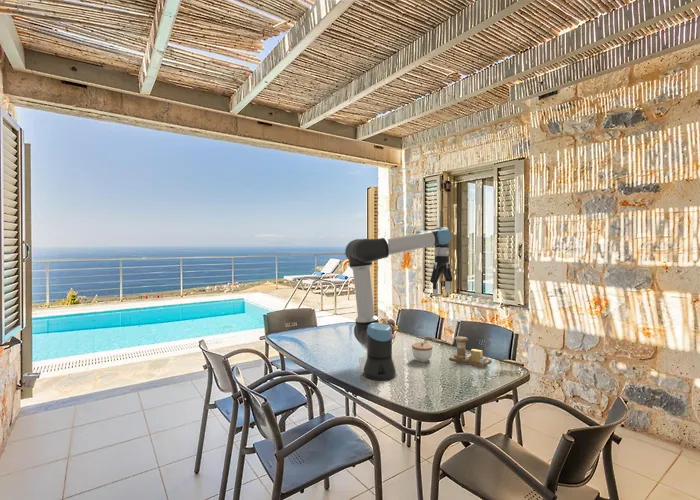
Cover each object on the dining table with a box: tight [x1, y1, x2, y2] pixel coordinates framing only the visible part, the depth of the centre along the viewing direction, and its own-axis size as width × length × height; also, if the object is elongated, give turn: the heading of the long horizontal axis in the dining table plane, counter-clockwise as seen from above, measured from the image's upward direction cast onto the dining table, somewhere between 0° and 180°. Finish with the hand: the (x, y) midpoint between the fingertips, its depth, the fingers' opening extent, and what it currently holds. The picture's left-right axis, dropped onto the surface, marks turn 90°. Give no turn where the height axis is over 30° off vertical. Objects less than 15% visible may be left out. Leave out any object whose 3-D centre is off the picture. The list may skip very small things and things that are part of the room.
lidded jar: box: [411, 342, 433, 363], centre depth 189 cm, size 11×11×9 cm
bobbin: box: [453, 335, 470, 359], centre depth 192 cm, size 8×8×10 cm
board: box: [449, 353, 492, 368], centre depth 189 cm, size 12×18×4 cm, turn 47°
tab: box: [470, 348, 484, 363], centre depth 183 cm, size 3×5×6 cm, turn 47°
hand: (441, 294), depth 195 cm, fingers open, 13 cm apart
